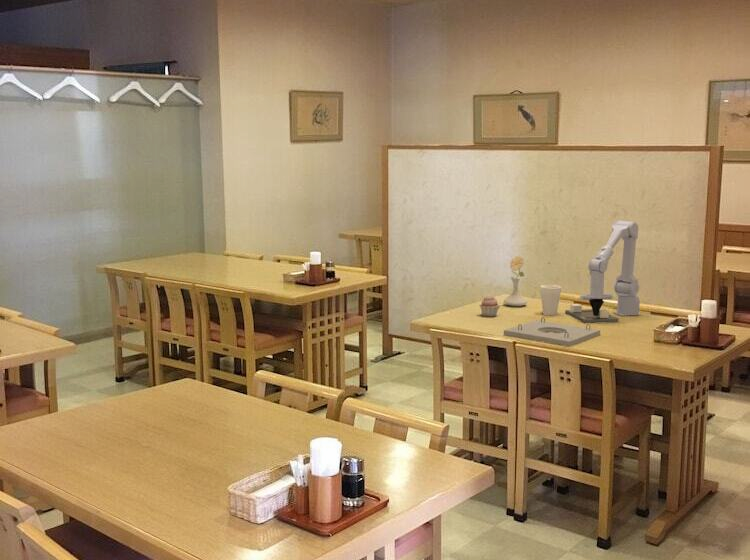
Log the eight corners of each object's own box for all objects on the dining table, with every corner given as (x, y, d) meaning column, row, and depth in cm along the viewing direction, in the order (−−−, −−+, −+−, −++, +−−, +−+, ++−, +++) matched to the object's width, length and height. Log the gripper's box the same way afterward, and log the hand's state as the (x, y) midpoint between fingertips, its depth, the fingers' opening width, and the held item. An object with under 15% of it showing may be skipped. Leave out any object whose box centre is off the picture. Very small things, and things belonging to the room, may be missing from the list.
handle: (578, 310, 385) (578, 303, 385) (581, 311, 381) (581, 305, 381) (570, 310, 384) (570, 304, 384) (573, 312, 381) (573, 305, 380)
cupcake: (494, 313, 386) (495, 292, 384) (502, 317, 377) (503, 295, 376) (475, 314, 384) (476, 293, 382) (483, 318, 375) (484, 296, 373)
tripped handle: (604, 315, 373) (605, 309, 372) (608, 317, 369) (608, 311, 368) (596, 316, 372) (596, 309, 371) (600, 317, 368) (600, 311, 368)
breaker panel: (597, 312, 389) (597, 308, 389) (618, 322, 368) (618, 318, 367) (565, 313, 386) (565, 309, 386) (584, 323, 365) (584, 319, 365)
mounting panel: (570, 335, 321) (503, 324, 341) (569, 348, 322) (503, 336, 341) (600, 324, 341) (536, 314, 361) (600, 336, 342) (536, 326, 362)
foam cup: (554, 317, 378) (555, 289, 376) (536, 314, 383) (537, 287, 381) (563, 313, 385) (564, 286, 383) (545, 311, 391) (546, 284, 389)
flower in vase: (499, 303, 409) (500, 254, 405) (520, 302, 412) (521, 253, 408) (511, 308, 396) (512, 257, 392) (532, 307, 400) (534, 256, 396)
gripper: (585, 287, 362) (583, 317, 365) (616, 286, 365) (614, 316, 367) (578, 285, 369) (577, 314, 371) (609, 284, 372) (607, 313, 374)
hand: (595, 315), depth 370 cm, fingers closed
